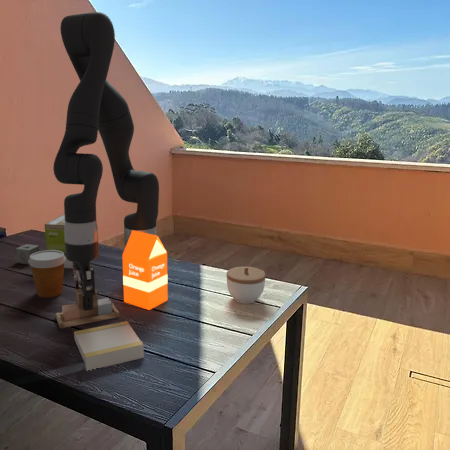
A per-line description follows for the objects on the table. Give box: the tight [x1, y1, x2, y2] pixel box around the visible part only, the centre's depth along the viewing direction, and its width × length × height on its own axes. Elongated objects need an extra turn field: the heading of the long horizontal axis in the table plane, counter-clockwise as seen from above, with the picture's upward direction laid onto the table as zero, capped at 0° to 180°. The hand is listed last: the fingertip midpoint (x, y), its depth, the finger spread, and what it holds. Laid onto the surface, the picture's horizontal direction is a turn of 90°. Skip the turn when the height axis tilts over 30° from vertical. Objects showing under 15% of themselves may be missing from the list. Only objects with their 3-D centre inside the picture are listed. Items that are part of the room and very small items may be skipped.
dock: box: [73, 320, 145, 372], centre depth 102 cm, size 12×12×3 cm
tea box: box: [44, 213, 73, 269], centre depth 155 cm, size 15×10×15 cm, turn 172°
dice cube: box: [15, 243, 41, 266], centre depth 155 cm, size 5×5×5 cm
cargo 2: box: [98, 297, 113, 316], centre depth 117 cm, size 3×3×3 cm
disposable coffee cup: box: [28, 249, 66, 299], centre depth 128 cm, size 10×10×12 cm
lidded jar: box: [226, 266, 267, 305], centre depth 130 cm, size 11×11×9 cm
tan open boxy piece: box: [55, 286, 120, 329], centre depth 115 cm, size 14×6×8 cm, turn 118°
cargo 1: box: [61, 302, 80, 322], centre depth 113 cm, size 3×3×3 cm
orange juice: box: [121, 230, 169, 311], centre depth 123 cm, size 8×9×20 cm
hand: (84, 302), depth 114 cm, fingers open, 8 cm apart
